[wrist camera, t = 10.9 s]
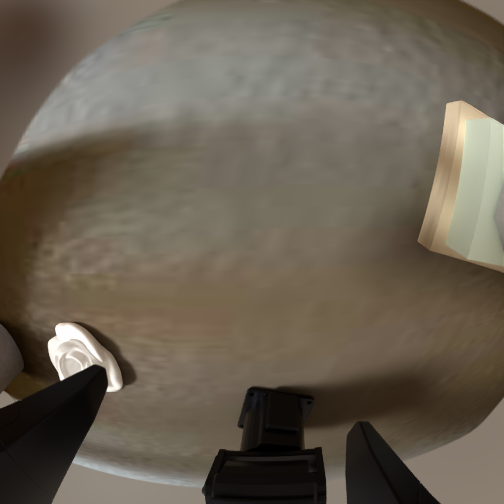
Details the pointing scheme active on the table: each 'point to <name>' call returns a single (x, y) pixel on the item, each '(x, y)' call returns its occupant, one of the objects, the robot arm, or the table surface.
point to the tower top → (479, 193)
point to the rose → (81, 354)
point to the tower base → (448, 182)
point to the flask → (500, 217)
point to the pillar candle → (9, 359)
